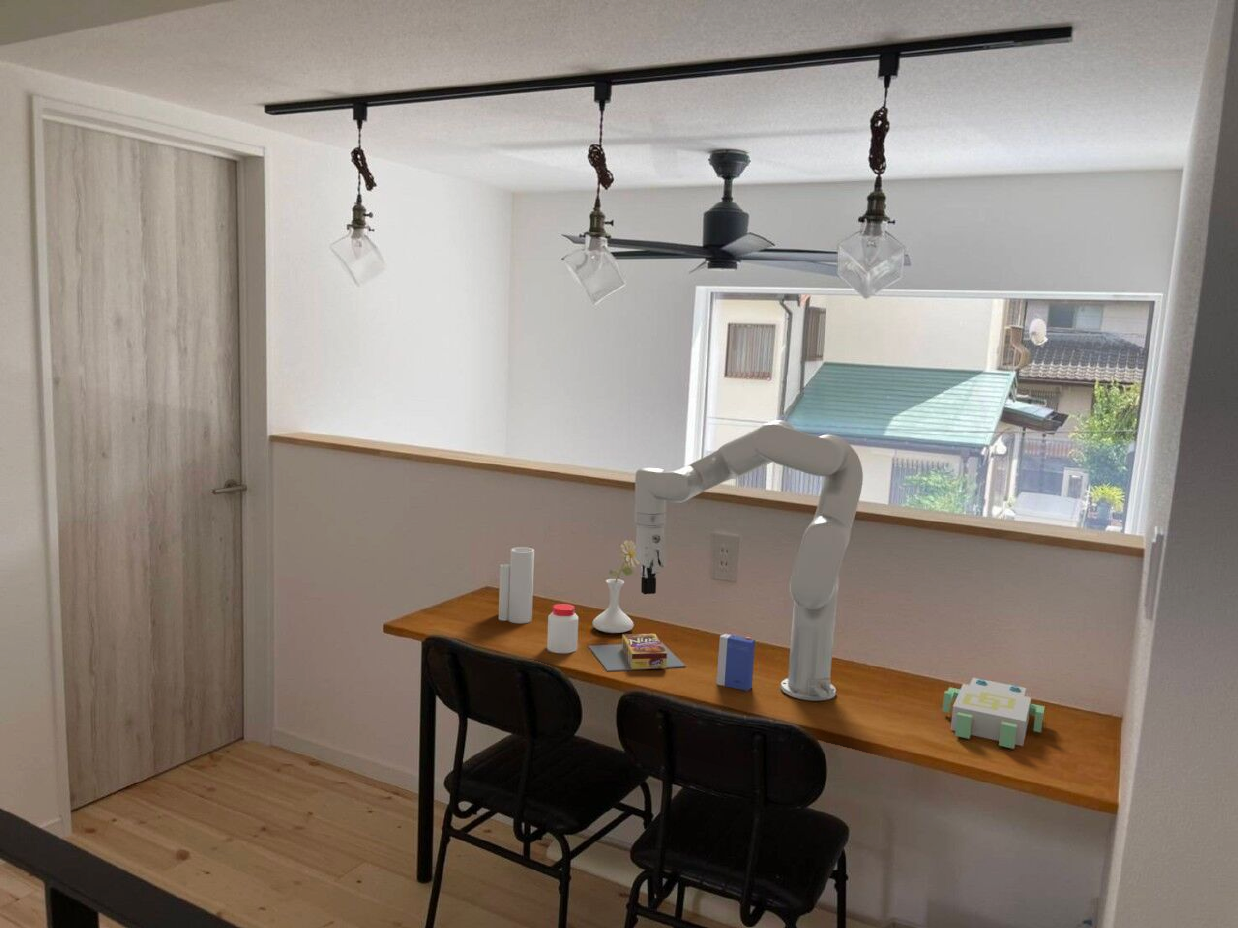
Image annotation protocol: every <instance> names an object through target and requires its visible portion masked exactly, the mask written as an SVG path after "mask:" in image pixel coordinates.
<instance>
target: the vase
mask: <svg viewBox="0 0 1238 928" xmlns="http://www.w3.org/2000/svg"><path fill="white" fill-rule="evenodd" d="M509 552H510V557H509V564H506V563H505V564H500V565H499V567H500V568H499V591H498V592H499V595H498V597H499V599H498V620H499V621H504V622H505V621H506V622H507V621H508V622H510V623H513V624H527V623H528V624H529V623H530V622H532V620H533V619H532V617H533V596H534V595H533V592H534V568H535V567H534V564H535V563H534V562H535V549H534V548H530V547H513V548H510V551H509Z"/></svg>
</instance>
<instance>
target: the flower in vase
mask: <svg viewBox="0 0 1238 928" xmlns="http://www.w3.org/2000/svg"><path fill="white" fill-rule="evenodd" d="M619 550H620V552H619V554H620V555H621V556H620V558H621V560H622V561H623V562H622V565H621V568H620V570H619V572H615V571H613V570H612V569H609V575H612V576H616V578H609V579H606V580H605V582H606V584H607V586H608V588H609V596H610V598H609V606H608V607H607V608H606V609H605V610H603V612H601V613H600V614H598V615H597V616H596V617H594V619H593V621H592V623H591V624H592V626H593V628H594V629H596V630H598V631H600V632H603V633H609V634H620V633H621V634H623V633H626V632H628V631H631V630H632V629H633V627H634V622H633V620H632V619H631V618H630V616H628V615H627V614H626V613H625V612H623V611H622V610H621V608H620V605H619V595H620V590H621V588H622V586H623V585H624V583H625V581H624V580H622V579H619V577H620V575H621V573H623V574H624V575H625V576H631V575H632V574H633V573H634V570H633V569H637V567H638V566H641V565H640V562H638V561H637V559H636V543H634V541H632V540H629V541H628V540H627V539H626V540H624V541H623V544H620V548H619ZM624 565H625V566H624Z"/></svg>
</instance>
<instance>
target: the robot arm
mask: <svg viewBox="0 0 1238 928" xmlns="http://www.w3.org/2000/svg"><path fill="white" fill-rule="evenodd" d="M771 463H774V464H777V465H780V466H783V467H786V468H789V469H792V470H795V471H799V472H800V473H801V472H802V473H805V474H809V475H812V476H815V477H824V481H823V485H822V489H821V492H820V495H819V500H818V504H817V507H816V510H815V513H814V517H813V519H812V521H811V522H810V524H808V526H807V528H806V529H805V531H804V533H803V534H802V539H801V542H800V545H799V549H798V553H797V555H796V559H795V563H794V566H793V570H792V574H791V576H790V577H791V578H790V582H789V593H790V594H791V598H792V600H793V601H794V604H793V611H792V623H791V635H790V637H791V638H790V648H789V649H790V651H789V660H788V661H789V663H788V675H787V678H785V679H783V680H782V681H781V683H780V689H781V691H782V692H783V693H785V694H786V695H788V696H790V697H792V698H796V699H799V700H804V701H813V702H817V701H818V702H819V701H821V702H822V701H827V700H828V701H829V700H831V699H833V698H834V697H835V696H836V693H837V690H836V687H835V685H833V684H832V683H831V669H832V659H833V645H834V633H835V624H836V615H837V614H836V610H837V605H838V604H837V602H838V595H839V590H840V589H839V588H840V577H839V573H840V570H841V566H842V562H843V559H844V555H845V552H846V550H847V549H848V546H849V543H850V539H851V533H852V527H853V524H854V521H855V516H856V514H857V510H858V504H859V501H860V497H861V493H862V488H863V481H864V480H863V479H864V476H863V475H864V473H863V466H862V463H861V460H860V458H859V456H858V453H857V452H856V450H855V449H854V447H852V445H851V444H849V443H848V441H846V440H845V439H843V438H842V437H840V436H839V435H835V434H823V435H820V436H817V435H814V434H812V433H811V434H810V433H808V432H807V433H806V432H803V431H801V430H798V429H795V428H794V426H793V425H792V424H790V423H789V422H787V421H785V420H782V419H779V420H778V419H777V420H772V421H770V422H767V423H764V424H763V425H761V426H760V427H758V428H757V427H756V429H753V430H752V431H749V432H747V433H745V434H743V435H741V436H739V437H737V438H735V439H733V440H731V441H728V442H726V443H725V444H723V445H722V446H720V447H719V448H718V449H717V450H716V451H714V452H712V453H711V454H709V455H708V454H707V455H706V456H704V457H702V458H700V459H698V460H696V461H694V462H692V463H689V464H688V465H686V466H683V467H681V468H678V469H675V470H672V471H665V470H664V469H662V468H658V467H642V468H639V469H638V470H636V472H635V479H634V481H635V482H634V483H635V484H634V487H635V488H634V526H636V535H635V546H636V559H637V561H638V562H640V565H639V566H640V568H641V569H640V570H641V571H640V572H641V586H640V587H641V589H640V590H641V594H643V595H652V594H653V595H654V594H656V593H657V575H658V574H659V567H661V568H665V567H666V564H667V563H666V562H667V559H666V557H667V553H666V551H667V550H666V533H665V527H666V522H667V521H666V518H667V516H666V515H667V514H666V511H667V510H666V509H667V502H672V503H684V502H686V501H688V500H689V499H691V498H694V497H695V496H697V495H699V494H701V493H703V492H705V491H707V490H710V489H711V488H714V487H717V486H718V485H720V484H722V483H725V482H727V481H730V480H735V479H739V478H741V477H744V476H745V475H747V474H750V473H753V472H754V471H756V470H759V469H761V468H762V467H765V466H767V465H769V464H771Z"/></svg>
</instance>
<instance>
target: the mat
mask: <svg viewBox="0 0 1238 928" xmlns="http://www.w3.org/2000/svg"><path fill="white" fill-rule="evenodd" d="M660 642H661V644H662V646H663V647H664V649H665V650H666V652H667V664H666V668H665V669H670V668H672V669H673V668H674V669H675V668H686V665H685V663H683V661H682V660H680V658H678V657H677V656H676V655H675V653H674V652H672V651H671V650H670V648H668V647H667V646H666V645H665V644H664V643H663V642H662V641H660ZM588 649H589V650H590V651H591V652H592V653H593V654H594V656H595V658H596V659H597V660H598V661H599V662H600V664H601V665H602V667H604V669H605V671H606V672H620V671H621V672H623V671H636V670H639V671H640V670H642V669H631V667H630V665H629V663H628V660H627V658H626V656H625V654H624V652H623V650H622V643H621V644H602V645H600V644H599V645H588ZM655 669H657V668H654V669H653V670H655ZM658 669H660V668H658Z"/></svg>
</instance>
